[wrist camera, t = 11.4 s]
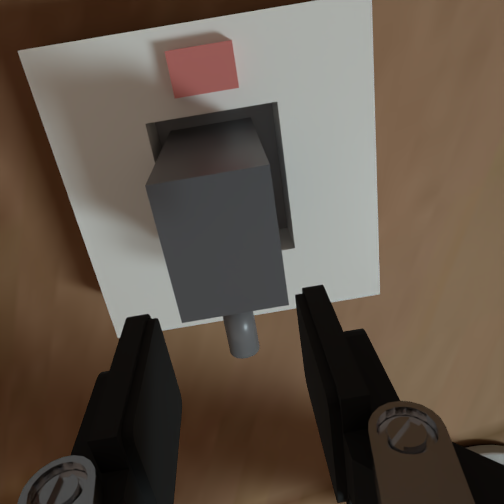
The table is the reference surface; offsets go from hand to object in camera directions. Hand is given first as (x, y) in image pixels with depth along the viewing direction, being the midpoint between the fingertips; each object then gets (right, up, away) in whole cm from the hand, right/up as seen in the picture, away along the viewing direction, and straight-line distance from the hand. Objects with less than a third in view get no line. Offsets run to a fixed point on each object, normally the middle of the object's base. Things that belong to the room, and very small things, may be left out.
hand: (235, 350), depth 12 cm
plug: (-1, +6, +15) cm, 16 cm away
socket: (-1, +8, +15) cm, 17 cm away
